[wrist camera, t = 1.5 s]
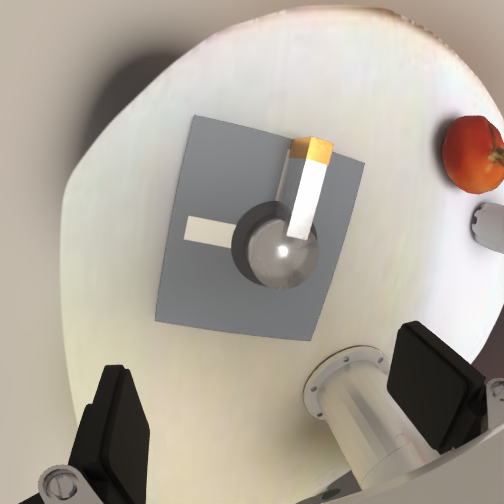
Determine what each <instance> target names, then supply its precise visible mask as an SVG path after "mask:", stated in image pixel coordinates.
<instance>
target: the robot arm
mask: <svg viewBox="0 0 504 504" xmlns="http://www.w3.org/2000/svg"><path fill="white" fill-rule="evenodd" d="M485 379H486V378H485V377H484V376H483V375H482V374H481V373H480V372H478V371H477V370H476V369H475V368H474V367H473V366H472V365H471V364H469V363H468V362H467V361H466V360H465V359H463V358H462V357H461V356H460V355H459V354H458V353H456V352H455V351H454V350H453V349H452V348H450V347H449V346H448V345H447V344H446V343H444V342H443V341H442V340H441V339H440V338H438V337H437V336H436V335H435V334H434V333H432V332H431V331H430V330H429V329H427V328H426V327H425V326H424V325H422V324H421V323H420V322H419V321H412V322H408V323H404V324H403V325H402V326H401V328H400V329H399V330H398V333H397V338H396V343H395V349H394V353H393V358H392V363H391V367H390V365H389V361H388V360H387V358H386V357H385V356H384V355H383V354H382V352H381V351H379V350H377V349H376V348H372V347H366V346H360V347H353V348H350V349H346V350H344V351H341V352H339V353H337V354H335V355H334V356H332V357H330V358H329V359H327V360H326V361H325V362H324V363H322V364H321V365H320V366H319V367H318V368H317V369H316V370H315V371H314V372H313V374H312V375H311V377H310V378H309V380H308V382H307V384H306V386H305V389H304V403H305V406H306V408H307V410H308V412H309V413H310V414H311V415H312V416H313V417H315V418H317V419H320V420H324V421H326V422H327V424H328V425H329V427H330V429H331V431H332V433H333V435H334V437H335V439H336V441H337V443H338V445H339V447H340V449H341V451H342V453H343V455H344V457H345V459H346V461H347V462H348V464H349V466H350V468H351V470H352V472H353V474H354V476H355V478H356V480H357V482H358V484H359V486H360V487H361V489H362V491H360V492H357V493H354V494H352V495H348V496H345V497H342V498H339V499H336V500H332V501H329V502H325V503H321V504H504V379H503V378H496V379H493V380H491V381H490V382H488V384H487V386H485V385H484V381H485ZM149 439H150V429H149V424H148V422H147V419H146V416H145V413H144V411H143V408H142V405H141V402H140V399H139V396H138V394H137V391H136V388H135V385H134V381H133V378H132V375H131V372H130V370H129V369H125V368H124V366H123V365H106V366H105V367H104V370H103V373H102V376H101V379H100V382H99V385H98V388H97V391H96V394H95V397H94V400H93V403H92V404H87V405H86V407H85V409H84V412H83V415H82V418H81V421H80V425H79V428H78V431H77V434H76V438H75V441H74V445H73V448H72V451H71V455H70V458H69V462H68V465H56V466H53V467H50V468H48V469H47V470H46V471H44V473H43V474H42V475H41V476H40V479H39V481H38V490H39V493H37V494H35V495H34V496H32V497H30V498H28V499H26V500H24V501H23V502H21V503H19V504H146V483H147V466H148V451H149ZM452 447H454V448H455V450H453V451H451V452H450V453H449V452H448V451H449V450H451V449H452Z"/></svg>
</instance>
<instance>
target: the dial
mask: <svg viewBox="0 0 504 504" xmlns="http://www.w3.org/2000/svg"><path fill="white" fill-rule="evenodd" d="M332 148H333V143H330V142H327V141H324V140H321V139H318V138H315V137H305V138H298V139H293V141H292V145H291V149H290V153H289V157H288V158H289V159H288V163H287V167H286V171H285V175H284V179H283V183H282V187H281V191H280V194H279V198H278V202H277V206H276V210H275V214H272V215H268V216H265V217H263V218H261V219H259V220H258V221H257V222H255V223H254V224H253V226H252V227H251V228H250V229H249V231H248V233H247V235H246V238H245V243H244V251H245V255H246V258H247V260H248V262H249V264H250V266H251V268H252V270H253V272H254V274H255V276H256V277H257V278H258V280H259V281H260V282H262V283H263V284H264V285H266V286H268V287H270V288H273V289H279V290H285V289H291V288H294V287H296V286H299V285H300V284H302V283H303V282H305V281H306V280H307V279H308V278H309V277H310V276H311V275H312V273H313V272H314V270H315V268H316V266H317V263H318V259H319V247H318V243H317V240H316V238H315V236H314V235H313V233H312V232H311V231H310V228H311V225H312V221H313V217H314V214H315V210H316V206H317V202H318V199H319V195H320V191H321V187H322V184H323V180H324V176H325V172H326V168H327V165H329V161H330V157H331V153H332Z"/></svg>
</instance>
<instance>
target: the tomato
mask: <svg viewBox="0 0 504 504" xmlns="http://www.w3.org/2000/svg"><path fill="white" fill-rule="evenodd" d="M442 158H443V164H444V168H445V169H446V171H447V173H448V175H449V177H450V178H451V179H452V181H453V182H454V183H455V184H456V185H457V186H458V187H459V188H460V189H462V190H464V191H466V192H468V193H472V194H482V193H485V192H488V191H492V190H494V189H495V188H497V187H498V186H499V185H500V184H501V182H502V181H503V180H504V143H503V140H502V137H501V134H500V132H499V131H498V129H497V128H496V127H495V126H494V125H493V124H491V123H490V122H489V121H488V120H487V119H486V118H485V117H484V116H463V117H460V118H458V119H456V120H455V121H454V122H452V123H451V125H450V126H449V128H448V129H447V131H446V136H445V141H444V144H443V150H442Z"/></svg>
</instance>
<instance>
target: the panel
mask: <svg viewBox="0 0 504 504" xmlns="http://www.w3.org/2000/svg"><path fill="white" fill-rule="evenodd" d="M292 141H293V139H289V138H286V137H282V136H279V135H275V134H271V133H268V132H264V131H260V130H256V129H253V128H249V127H245V126H241V125H237V124H232V123H228V122H224V121H219V120H215V119H210V118H206V117H201V116H196V115H194V119H193V122H192V126H191V130H190V134H189V138H188V143H187V147H186V151H185V155H184V160H183V164H182V168H181V173H180V177H179V182H178V187H177V191H176V196H175V201H174V206H173V211H172V216H171V221H170V227H169V232H168V238H167V243H166V249H165V255H164V261H163V267H162V273H161V280H160V287H159V293H158V300H157V308H156V315H155V321H158V322H164V323H170V324H176V325H182V326H188V327H194V328H201V329H208V330H215V331H222V332H229V333H237V334H245V335H253V336H262V337H271V338H280V339H290V340H301V341H311V338H312V335H313V333H314V330H315V327H316V324H317V321H318V319H319V316H320V313H321V310H322V307H323V304H324V301H325V298H326V295H327V292H328V289H329V286H330V283H331V280H332V277H333V274H334V271H335V268H336V265H337V261H338V258H339V255H340V252H341V248H342V245H343V242H344V238H345V235H346V232H347V228H348V225H349V221H350V218H351V214H352V211H353V207H354V203H355V200H356V196H357V192H358V189H359V185H360V181H361V177H362V173H363V169H364V165H365V163H363V162H360V161H357V160H354V159H352V158H349V157H346V156H343V155H340V154H337V153H334V152H332V153H331V157H330V161H329V165H327V168H326V172H325V176H324V180H323V184H322V187H321V191H320V195H319V199H318V202H317V206H316V210H315V214H314V217H313V221H312V225H311V228H310V231H311V232H312V233H313V235H314V236H315V238H316V240H317V243H318V247H319V259H318V263H317V266H316V268H315V270H314V272H313V273H312V275H311V276H310V277H309V278H308V279H307V280H306V281H305V282H303V283H302V284H300V285H299V286H296V287H294V288H291V289H285V290H279V289H273V288H270V287H268V286H266V285H264V284H263V283H262V282H260V281H259V280H258V278H257V277H256V276H255V274H254V272H253V270H252V268H251V266H250V264H249V262H248V260H247V258H246V255H245V251H244V243H245V238H246V235H247V233H248V231H249V229H250V228H251V227H252V226H253V224H254V223H255V222H257V221H258V220H259V219H261V218H263V217H265V216H268V215H272V214H275V210H276V206H277V202H278V198H279V194H280V191H281V187H282V183H283V179H284V175H285V171H286V167H287V163H288V159H289V158H288V157H289V153H290V149H291V145H292Z"/></svg>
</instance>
